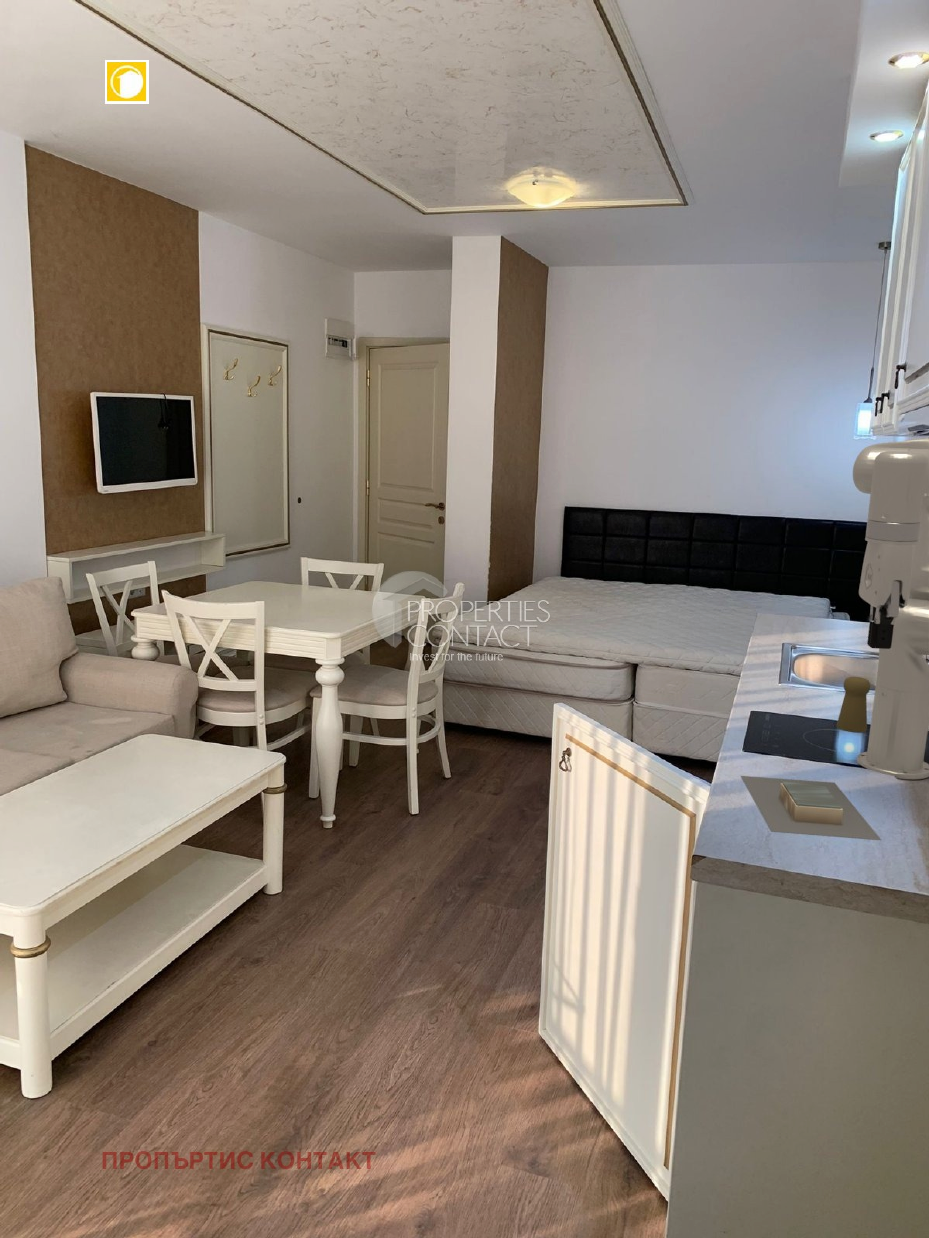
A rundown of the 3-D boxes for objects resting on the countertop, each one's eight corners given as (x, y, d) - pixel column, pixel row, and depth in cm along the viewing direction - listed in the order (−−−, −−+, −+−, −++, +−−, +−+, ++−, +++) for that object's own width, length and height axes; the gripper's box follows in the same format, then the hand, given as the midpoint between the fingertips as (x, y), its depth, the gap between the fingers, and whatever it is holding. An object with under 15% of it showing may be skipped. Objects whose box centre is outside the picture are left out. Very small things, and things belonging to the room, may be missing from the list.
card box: (781, 781, 153) (796, 804, 144) (824, 784, 153) (843, 807, 143) (779, 797, 154) (794, 821, 144) (822, 800, 153) (841, 824, 143)
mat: (740, 778, 164) (740, 775, 163) (834, 785, 162) (834, 782, 162) (770, 835, 140) (771, 831, 140) (881, 843, 139) (881, 839, 139)
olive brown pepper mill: (859, 724, 200) (865, 674, 198) (872, 733, 194) (878, 681, 192) (831, 723, 200) (837, 673, 198) (843, 732, 194) (850, 680, 192)
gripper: (853, 525, 152) (842, 635, 156) (881, 538, 138) (867, 658, 142) (902, 527, 151) (888, 637, 155) (935, 540, 137) (919, 660, 141)
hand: (878, 647), depth 149 cm, fingers closed
